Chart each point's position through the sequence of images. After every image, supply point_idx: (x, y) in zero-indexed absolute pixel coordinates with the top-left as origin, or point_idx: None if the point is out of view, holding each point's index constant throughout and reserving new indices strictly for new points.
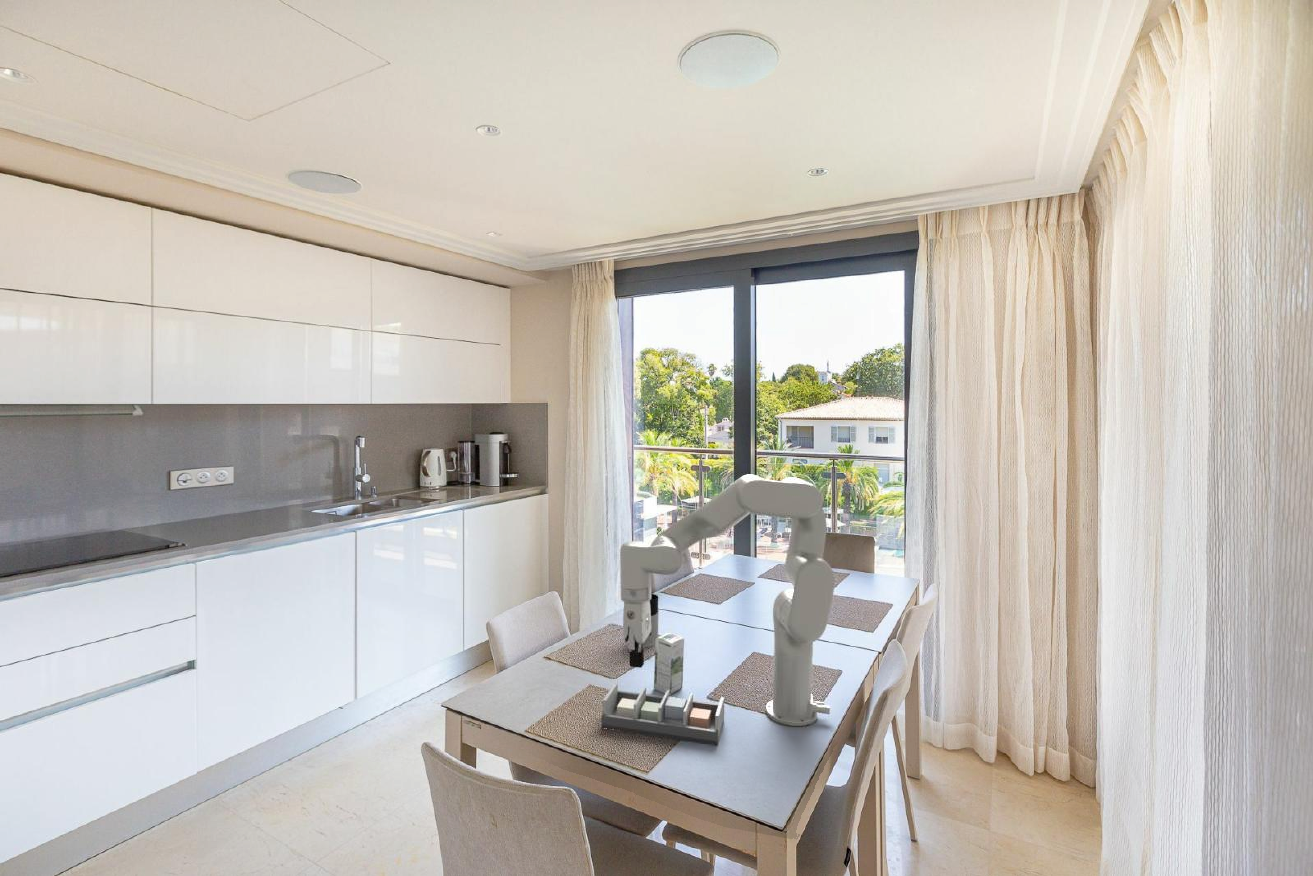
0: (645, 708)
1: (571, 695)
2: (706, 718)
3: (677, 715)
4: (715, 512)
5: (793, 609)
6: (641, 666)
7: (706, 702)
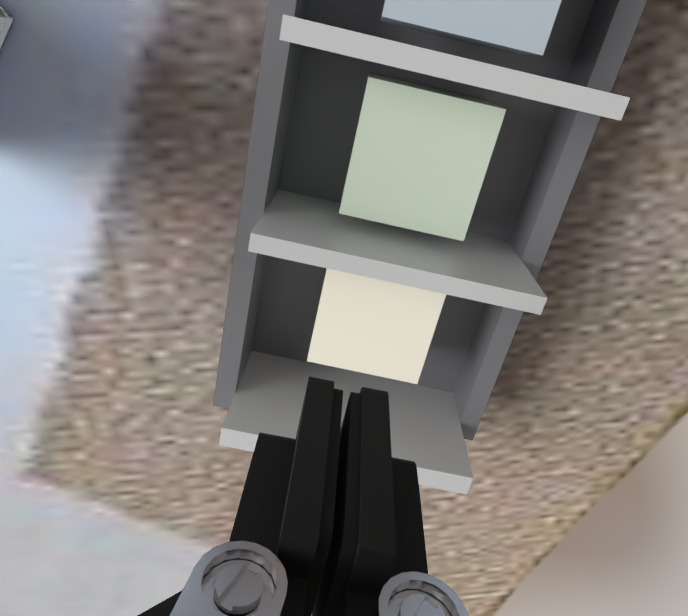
0: (446, 209)
1: (158, 534)
2: None
3: None
4: None
5: None
6: (385, 400)
7: None
